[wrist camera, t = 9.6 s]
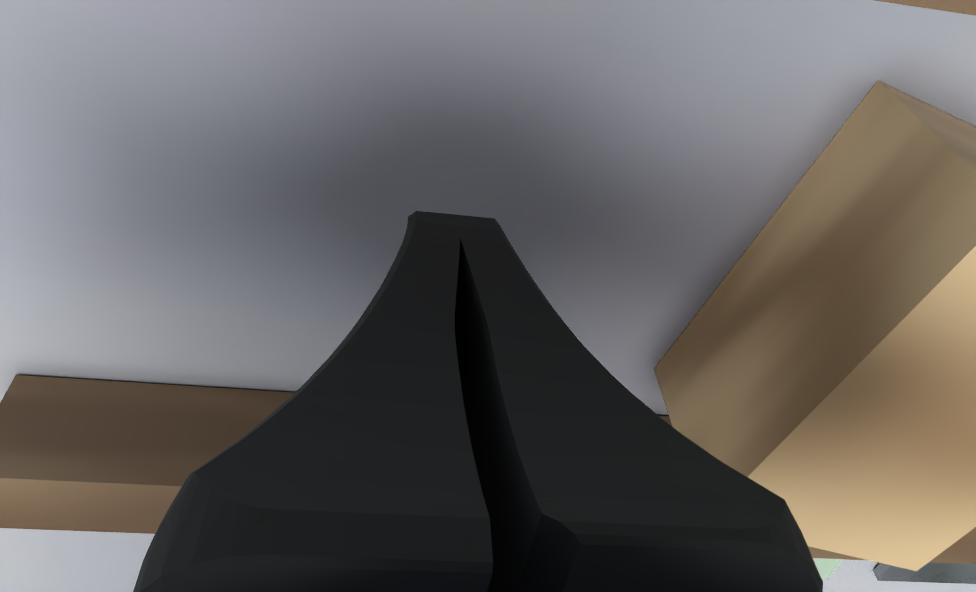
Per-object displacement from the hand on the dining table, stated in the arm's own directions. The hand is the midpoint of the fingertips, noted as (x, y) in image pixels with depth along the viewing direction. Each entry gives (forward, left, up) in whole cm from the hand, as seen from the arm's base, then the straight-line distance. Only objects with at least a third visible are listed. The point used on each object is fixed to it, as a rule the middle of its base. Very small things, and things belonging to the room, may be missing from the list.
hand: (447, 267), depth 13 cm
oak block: (-1, -8, -2) cm, 8 cm away
